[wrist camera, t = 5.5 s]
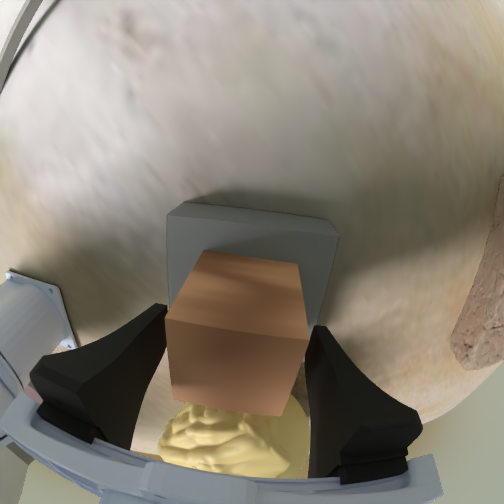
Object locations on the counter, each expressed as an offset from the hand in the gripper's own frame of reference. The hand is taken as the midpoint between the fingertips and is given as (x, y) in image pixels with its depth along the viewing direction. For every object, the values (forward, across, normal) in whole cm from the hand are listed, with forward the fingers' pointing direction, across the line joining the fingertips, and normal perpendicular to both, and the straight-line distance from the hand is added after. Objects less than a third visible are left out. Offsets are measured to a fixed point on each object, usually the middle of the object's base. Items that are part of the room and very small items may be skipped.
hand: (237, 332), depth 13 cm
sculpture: (+6, -1, +14) cm, 15 cm away
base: (+6, 0, 0) cm, 6 cm away
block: (+3, 0, 0) cm, 3 cm away
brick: (+6, -23, -3) cm, 24 cm away
